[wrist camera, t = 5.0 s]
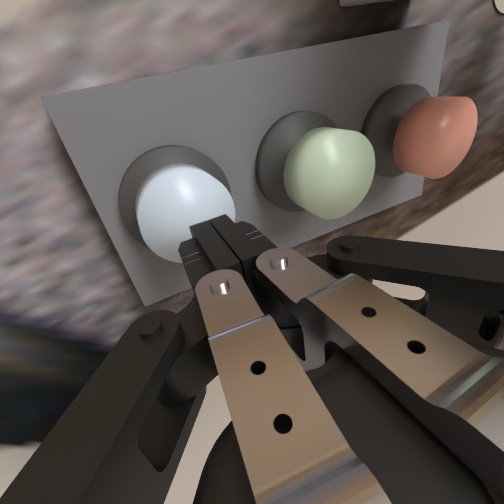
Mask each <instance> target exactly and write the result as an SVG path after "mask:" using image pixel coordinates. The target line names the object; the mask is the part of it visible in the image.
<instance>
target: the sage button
mask: <svg viewBox="0 0 504 504" xmlns="http://www.w3.org/2000/svg"><path fill="white" fill-rule="evenodd" d="M374 172H375V154H374V150H373V147H372V145H371V143H370V141H369V140H368V139H367V138H366V137H365V136H364V135H363V134H361V133H359V132H356V131H351V130H344V129H337V128H329V127H319V128H315V129H312V130H310V131H308V132H307V133H305V134H304V135H303V136H301V137H300V138H299V139H298V140H297V142H296V143H295V144H294V146H293V147H292V148H291V150H290V152H289V154H288V157H287V159H286V163H285V167H284V175H283V177H284V186H285V189H286V192H287V194H288V196H289V198H290V199H291V200H292V201H293V202H294V203H295V204H296V205H298V206H300V207H302V208H304V209H305V210H307V211H309V212H311V213H312V214H314V215H316V216H318V217H320V218H323V219H337V218H340V217H342V216H345V215H346V214H348V213H350V212H351V211H352V210H354V209H355V208H356V207H357V206H358V205H359V203H360V202H361V201H362V200H363V198H364V197H365V195H366V194H367V192H368V190H369V188H370V186H371V183H372V180H373V177H374Z"/></svg>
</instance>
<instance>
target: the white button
mask: <svg viewBox="0 0 504 504" xmlns="http://www.w3.org/2000/svg"><path fill="white" fill-rule="evenodd" d="M135 212H136V217H137V221H138V225H139V228H140V232H141V235H142V237H143V239H144V241H145V243H146V244H147V246H148V247H149V248H150V249H151V250H152V251H153V252H154V253H155V254H157V255H158V256H160V257H162V258H164V259H166V260H169V261H172V262H177V263H182V260H181V257H180V254H179V252H178V249H179V246H180V243H181V242H183V241H186V240H189V239H192V235H191V232H190V229H189V226H191V225H194V224H197V223H200V222H203V221H206V220H207V221H208V220H209V219H212V218H215V217H218V216H221V215H224V214H226V215H227V216H228V217H229V218H230V219H231V220H232V221H233V222H234V223H235V207H234V203H233V199H232V197H231V195H230V193H229V192H228V190H227V189H226V188H225V186H224V185H223V184H222V183H221V182H219V181H218V180H217V179H215V178H214V177H213V176H211V175H210V174H209V173H207V172H206V171H204V170H203V169H201V168H199V167H197V166H194V165H192V164H187V163H173V164H168V165H165V166H162V167H160V168H158V169H156V170H155V171H153V172H152V173H150V174H149V175H148V176H147V177H146V178H145V180H144V181H143V182H142V184H141V185H140V187H139V189H138V192H137V195H136V199H135Z"/></svg>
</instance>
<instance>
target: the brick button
mask: <svg viewBox="0 0 504 504" xmlns="http://www.w3.org/2000/svg"><path fill="white" fill-rule="evenodd" d="M477 117H478V116H477V109H476V106H475V104H474V102H473V101H472V100H471V99H470V98H468V97H425V98H422V99H420V100H419V101H417V102H416V103H414V104H413V105H412V106H411V107H410V108H409V110H408V111H407V112H406V113H405V115H404V116H403V118H402V120H401V122H400V124H399V126H398V128H397V131H396V134H395V138H394V144H393V156H394V160H395V163H396V165H397V166H398V168H399V169H401V170H402V171H405V172H408V173H412V174H416V175H420V176H424V177H428V178H432V179H438V178H442V177H444V176H446V175H448V174H449V173H451V172H452V171H453V170H454V169H455V168H456V167H457V166H458V165H459V164H460V163H461V161H462V160H463V158H464V157H465V155H466V154H467V152H468V150H469V148H470V146H471V144H472V142H473V139H474V136H475V132H476V128H477Z"/></svg>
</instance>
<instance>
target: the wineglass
mask: <svg viewBox="0 0 504 504" xmlns="http://www.w3.org/2000/svg"><path fill="white" fill-rule="evenodd" d="M494 4H495V7H496V9H497V10H498V11H499V12H500V13H503V14H504V0H494Z"/></svg>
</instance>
